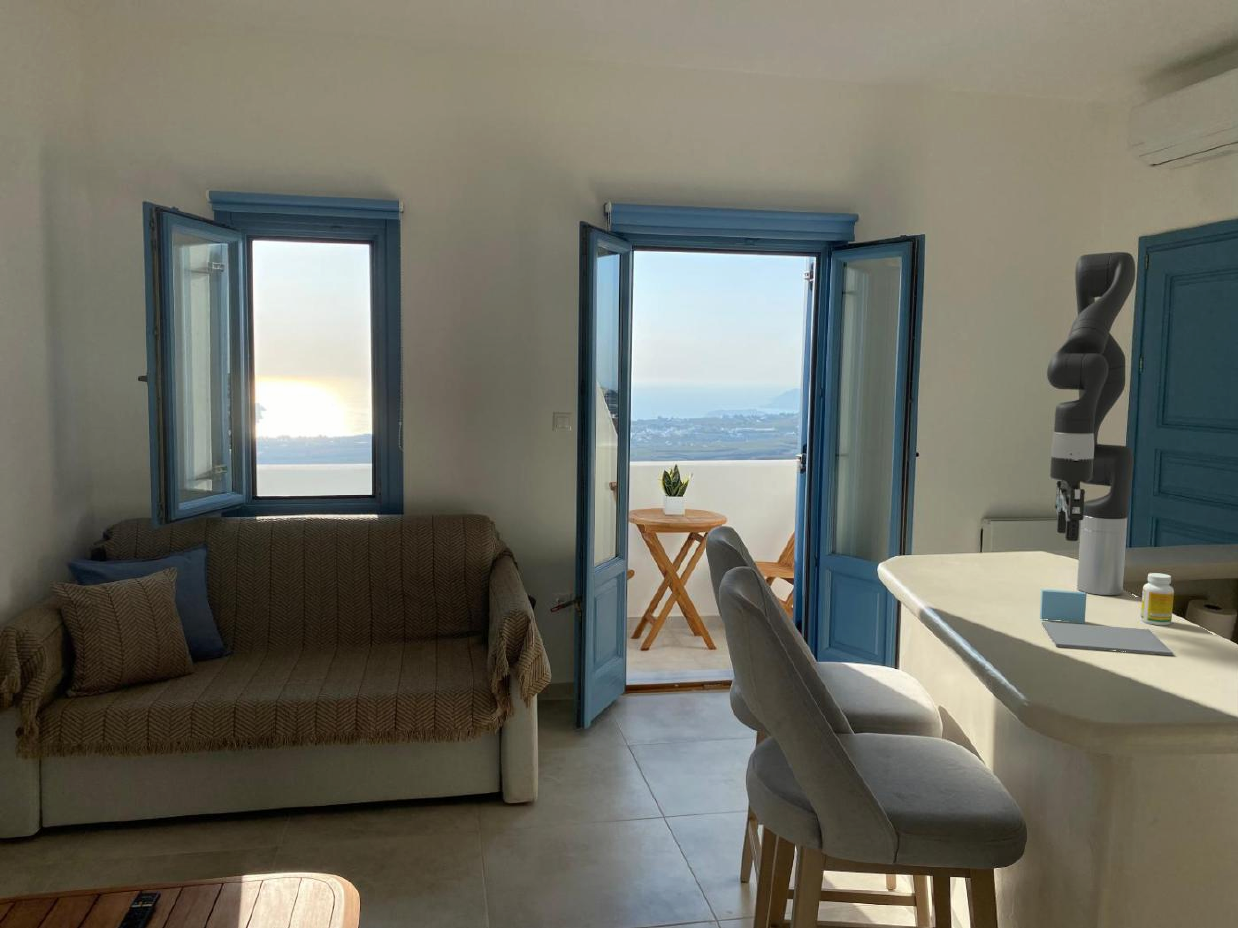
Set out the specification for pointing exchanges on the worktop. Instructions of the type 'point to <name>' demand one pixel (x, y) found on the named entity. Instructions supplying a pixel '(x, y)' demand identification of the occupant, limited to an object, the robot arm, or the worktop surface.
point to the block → (1063, 605)
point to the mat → (1105, 638)
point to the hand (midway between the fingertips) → (1067, 536)
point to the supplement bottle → (1157, 600)
